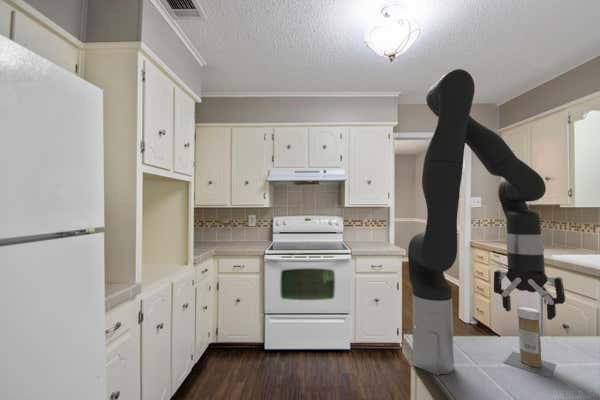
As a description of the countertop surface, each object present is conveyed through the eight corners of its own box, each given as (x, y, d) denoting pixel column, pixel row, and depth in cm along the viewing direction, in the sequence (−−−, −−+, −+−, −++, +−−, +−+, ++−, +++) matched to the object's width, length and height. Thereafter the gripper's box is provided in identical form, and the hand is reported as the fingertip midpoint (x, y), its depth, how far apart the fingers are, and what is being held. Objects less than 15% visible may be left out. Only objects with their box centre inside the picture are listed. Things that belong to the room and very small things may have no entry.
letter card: (549, 377, 66) (549, 377, 66) (503, 362, 73) (503, 362, 73) (556, 364, 72) (556, 364, 72) (512, 351, 79) (512, 351, 79)
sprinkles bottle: (544, 364, 72) (542, 310, 73) (538, 369, 70) (535, 313, 70) (523, 356, 76) (521, 305, 77) (516, 361, 73) (513, 308, 74)
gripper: (488, 250, 77) (491, 311, 76) (559, 255, 66) (563, 326, 65) (496, 248, 82) (499, 305, 81) (563, 252, 71) (568, 318, 70)
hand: (528, 314), depth 73 cm, fingers open, 8 cm apart
